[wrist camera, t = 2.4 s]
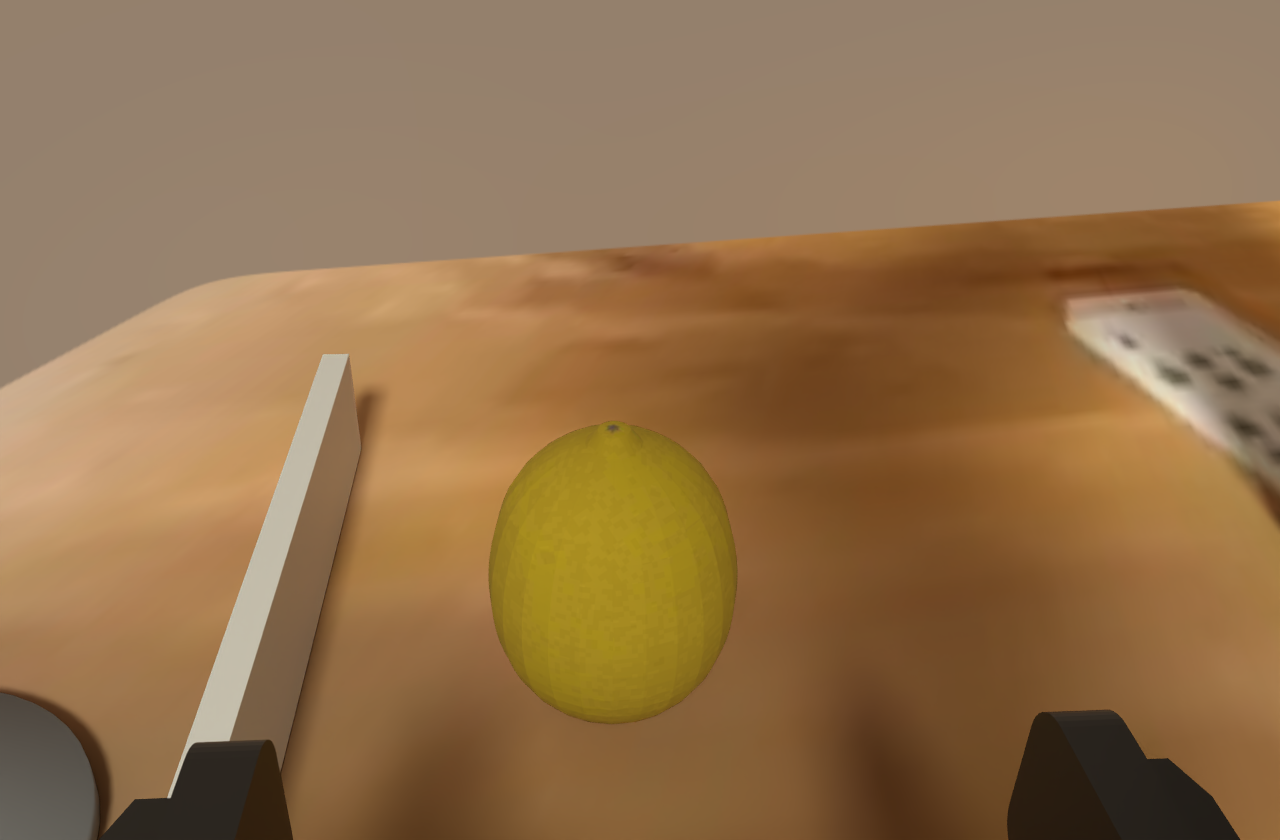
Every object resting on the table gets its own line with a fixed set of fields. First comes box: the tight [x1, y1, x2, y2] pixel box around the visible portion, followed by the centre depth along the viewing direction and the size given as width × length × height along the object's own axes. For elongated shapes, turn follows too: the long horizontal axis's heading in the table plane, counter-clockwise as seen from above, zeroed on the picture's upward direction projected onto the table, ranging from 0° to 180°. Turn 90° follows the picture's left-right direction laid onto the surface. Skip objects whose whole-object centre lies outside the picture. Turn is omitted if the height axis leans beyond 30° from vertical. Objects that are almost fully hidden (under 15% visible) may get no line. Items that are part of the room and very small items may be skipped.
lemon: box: [489, 421, 737, 724], centre depth 25 cm, size 6×6×8 cm
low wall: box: [167, 354, 361, 798], centre depth 25 cm, size 1×24×4 cm, turn 4°
